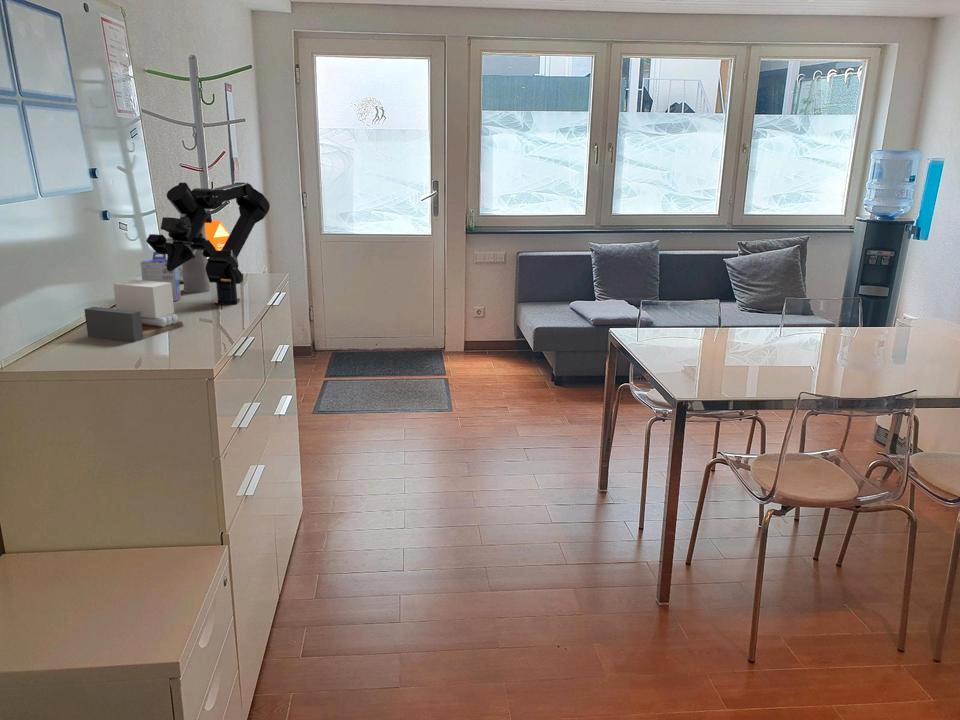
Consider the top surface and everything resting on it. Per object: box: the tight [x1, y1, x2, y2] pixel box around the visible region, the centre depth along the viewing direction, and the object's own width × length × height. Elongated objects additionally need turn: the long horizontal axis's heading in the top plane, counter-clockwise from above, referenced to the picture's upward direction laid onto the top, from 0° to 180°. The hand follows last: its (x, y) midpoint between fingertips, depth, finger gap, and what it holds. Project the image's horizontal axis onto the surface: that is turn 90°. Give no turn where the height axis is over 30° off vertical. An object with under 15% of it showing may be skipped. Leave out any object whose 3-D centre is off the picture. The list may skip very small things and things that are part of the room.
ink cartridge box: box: [140, 251, 182, 302], centre depth 229 cm, size 10×6×14 cm, turn 101°
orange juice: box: [205, 220, 230, 259], centre depth 270 cm, size 8×9×20 cm
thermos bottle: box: [179, 213, 211, 294], centre depth 242 cm, size 8×8×28 cm
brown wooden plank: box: [142, 320, 184, 340], centre depth 193 cm, size 18×14×1 cm
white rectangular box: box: [112, 279, 179, 327], centre depth 195 cm, size 7×14×10 cm, turn 73°
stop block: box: [83, 306, 144, 343], centre depth 185 cm, size 3×14×7 cm, turn 73°
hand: (168, 270), depth 202 cm, fingers closed
